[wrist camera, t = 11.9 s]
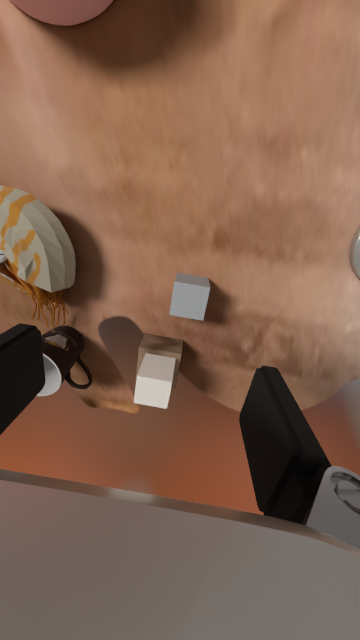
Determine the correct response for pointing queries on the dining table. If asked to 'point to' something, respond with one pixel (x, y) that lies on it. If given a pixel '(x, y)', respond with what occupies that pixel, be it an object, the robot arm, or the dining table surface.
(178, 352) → the metal block
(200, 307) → the grey block
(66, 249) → the nautilus
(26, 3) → the cake
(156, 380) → the ceramic block
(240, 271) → the dining table surface
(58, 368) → the coffee mug
